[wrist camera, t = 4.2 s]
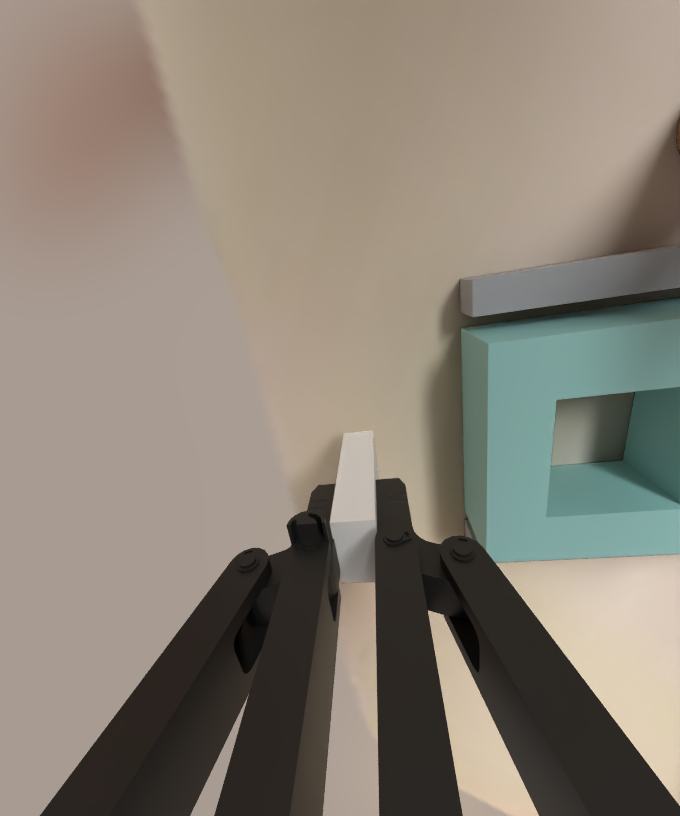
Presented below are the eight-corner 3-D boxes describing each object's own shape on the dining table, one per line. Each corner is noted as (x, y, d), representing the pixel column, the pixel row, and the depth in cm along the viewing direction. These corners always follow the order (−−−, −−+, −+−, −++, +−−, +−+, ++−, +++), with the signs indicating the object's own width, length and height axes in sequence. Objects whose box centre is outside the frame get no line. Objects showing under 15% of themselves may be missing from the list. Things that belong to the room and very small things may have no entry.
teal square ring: (460, 327, 16) (488, 343, 12) (716, 292, 15) (835, 297, 11) (464, 509, 20) (486, 562, 16) (665, 495, 19) (739, 550, 15)
